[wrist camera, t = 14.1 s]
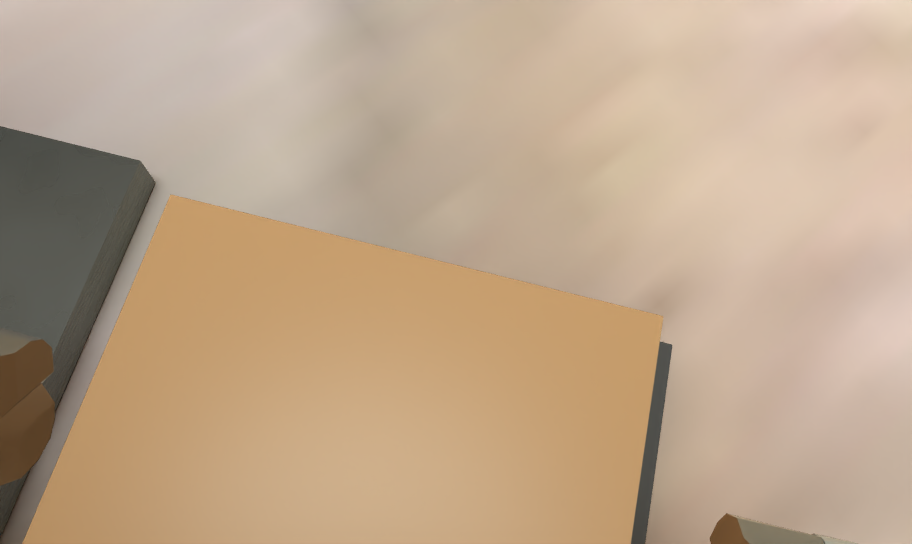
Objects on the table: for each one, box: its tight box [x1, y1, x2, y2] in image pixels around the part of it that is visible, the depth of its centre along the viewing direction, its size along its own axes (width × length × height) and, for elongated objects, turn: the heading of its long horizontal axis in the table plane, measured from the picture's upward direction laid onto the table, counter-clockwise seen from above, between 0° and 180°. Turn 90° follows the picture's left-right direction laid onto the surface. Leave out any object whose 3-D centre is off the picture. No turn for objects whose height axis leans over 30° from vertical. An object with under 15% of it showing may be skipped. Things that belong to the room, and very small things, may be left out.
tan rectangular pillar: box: [22, 195, 663, 544], centre depth 10 cm, size 5×5×8 cm
